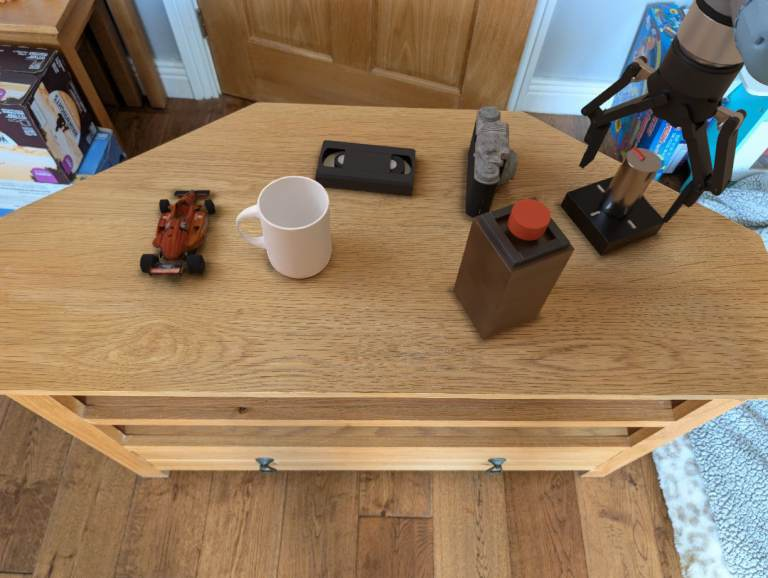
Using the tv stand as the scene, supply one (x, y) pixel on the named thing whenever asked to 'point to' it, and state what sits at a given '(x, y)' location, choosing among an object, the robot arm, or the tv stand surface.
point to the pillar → (508, 272)
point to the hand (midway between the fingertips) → (626, 188)
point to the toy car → (179, 235)
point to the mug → (292, 225)
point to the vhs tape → (366, 167)
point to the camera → (488, 161)
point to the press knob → (529, 219)
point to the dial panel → (609, 219)
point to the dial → (630, 182)
